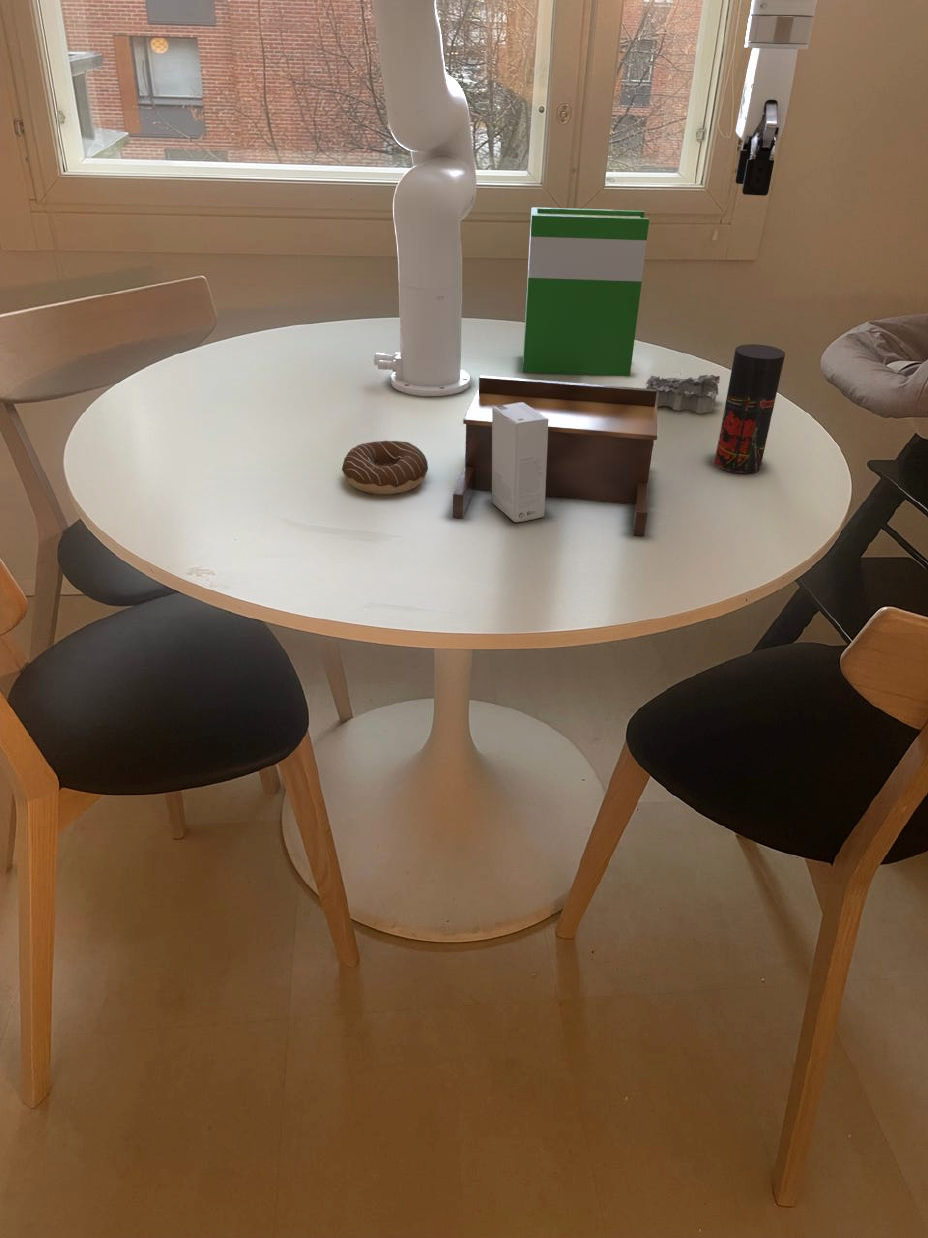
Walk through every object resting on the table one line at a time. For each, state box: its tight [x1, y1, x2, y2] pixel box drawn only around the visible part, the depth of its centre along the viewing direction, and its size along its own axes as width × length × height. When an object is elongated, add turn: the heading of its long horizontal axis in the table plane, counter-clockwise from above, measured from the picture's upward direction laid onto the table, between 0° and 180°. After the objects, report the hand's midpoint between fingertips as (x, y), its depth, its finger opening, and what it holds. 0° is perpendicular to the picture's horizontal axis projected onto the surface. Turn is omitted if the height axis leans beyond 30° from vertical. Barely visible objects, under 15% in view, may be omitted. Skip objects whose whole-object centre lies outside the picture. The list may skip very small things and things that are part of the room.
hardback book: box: [522, 206, 650, 377], centre depth 145 cm, size 18×7×24 cm, turn 87°
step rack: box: [452, 375, 658, 537], centre depth 108 cm, size 23×18×11 cm
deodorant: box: [714, 343, 786, 475], centre depth 115 cm, size 6×6×15 cm
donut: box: [341, 440, 429, 495], centre depth 111 cm, size 11×11×4 cm
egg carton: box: [645, 374, 721, 415], centre depth 137 cm, size 11×8×4 cm
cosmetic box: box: [491, 402, 549, 523], centre depth 103 cm, size 6×4×12 cm
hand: (750, 188), depth 119 cm, fingers open, 9 cm apart
